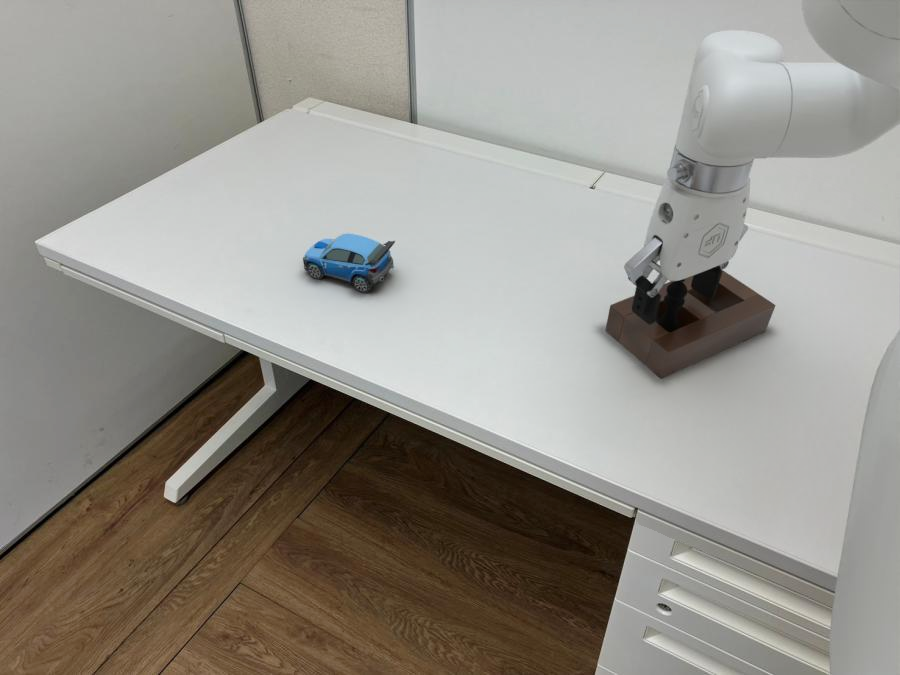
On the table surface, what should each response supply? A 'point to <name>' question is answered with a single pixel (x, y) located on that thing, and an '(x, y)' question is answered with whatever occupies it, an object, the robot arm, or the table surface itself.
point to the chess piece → (673, 305)
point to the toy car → (350, 260)
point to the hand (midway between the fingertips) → (672, 304)
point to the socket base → (691, 325)
